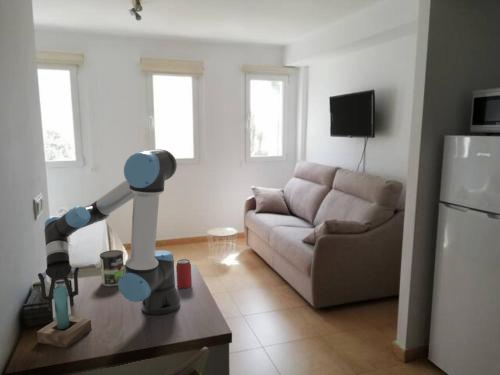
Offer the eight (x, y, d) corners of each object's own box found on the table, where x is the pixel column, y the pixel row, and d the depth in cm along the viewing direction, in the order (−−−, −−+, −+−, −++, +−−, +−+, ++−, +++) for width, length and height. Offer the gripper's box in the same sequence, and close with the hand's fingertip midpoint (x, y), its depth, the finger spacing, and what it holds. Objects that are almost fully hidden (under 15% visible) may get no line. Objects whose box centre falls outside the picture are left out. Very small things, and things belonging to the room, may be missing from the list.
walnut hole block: (91, 329, 135) (90, 319, 134) (66, 348, 124) (65, 337, 123) (65, 324, 138) (64, 314, 138) (38, 342, 127) (36, 331, 127)
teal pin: (72, 324, 132) (68, 287, 130) (63, 329, 128) (59, 291, 126) (63, 322, 133) (59, 285, 131) (54, 328, 129) (50, 290, 127)
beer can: (174, 286, 171) (173, 261, 169) (186, 281, 175) (185, 257, 173) (182, 290, 166) (181, 265, 164) (194, 286, 170) (193, 261, 169)
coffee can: (129, 280, 178) (127, 252, 176) (111, 288, 170) (109, 258, 167) (115, 275, 184) (113, 248, 181) (97, 283, 175) (94, 254, 173)
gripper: (82, 256, 145) (89, 315, 133) (32, 264, 137) (34, 326, 125) (82, 247, 139) (89, 307, 127) (30, 255, 131) (32, 319, 120)
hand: (62, 317), depth 126 cm, fingers closed on teal pin, 4 cm apart
